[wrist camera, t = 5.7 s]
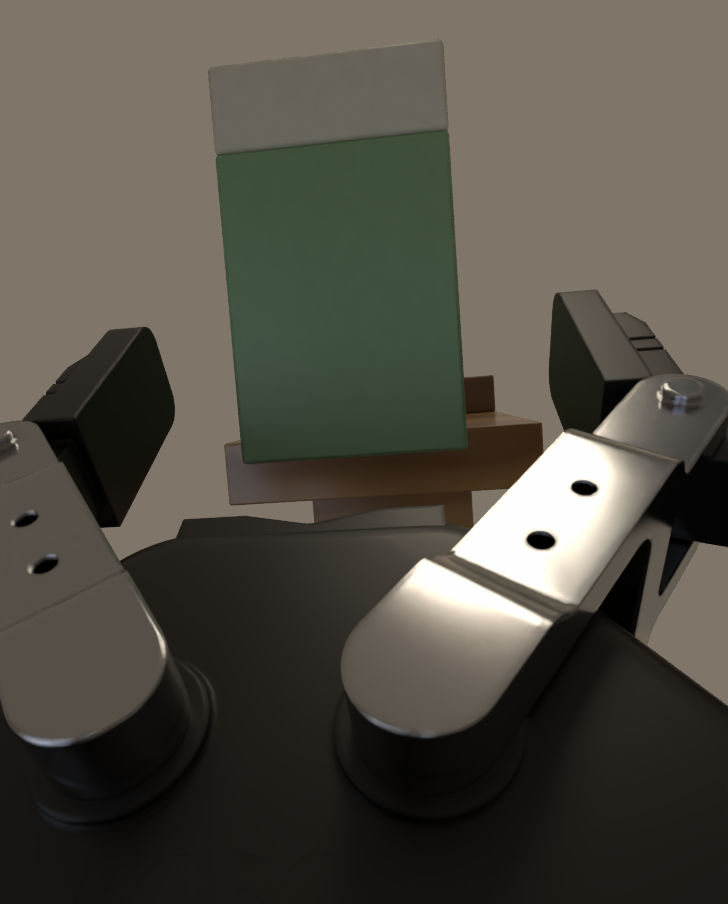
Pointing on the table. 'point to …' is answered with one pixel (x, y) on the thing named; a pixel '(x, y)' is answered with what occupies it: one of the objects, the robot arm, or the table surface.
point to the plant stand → (401, 469)
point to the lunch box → (340, 253)
